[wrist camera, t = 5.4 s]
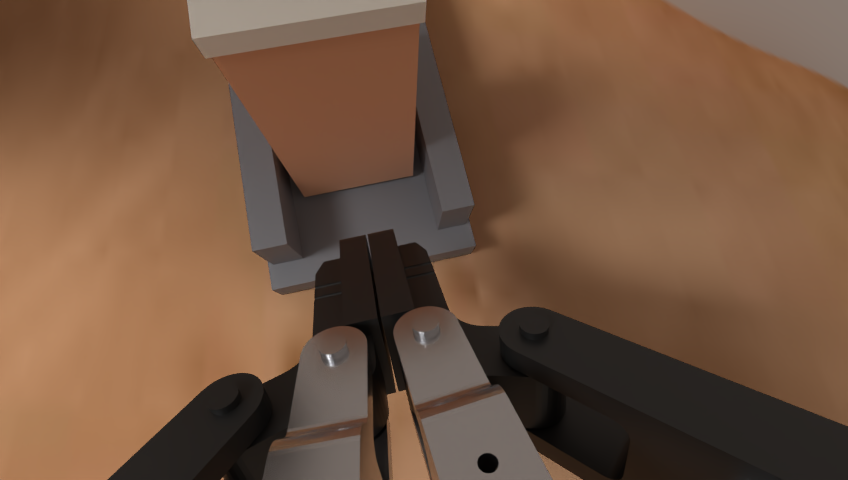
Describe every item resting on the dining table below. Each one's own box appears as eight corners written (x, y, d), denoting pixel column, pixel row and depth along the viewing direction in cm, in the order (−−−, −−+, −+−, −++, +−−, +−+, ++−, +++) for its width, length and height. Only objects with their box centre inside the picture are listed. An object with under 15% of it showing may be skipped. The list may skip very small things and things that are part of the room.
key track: (470, 253, 19) (495, 217, 14) (282, 294, 19) (233, 272, 13) (395, -34, 23) (393, -148, 18) (235, -10, 22) (182, -122, 17)
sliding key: (415, 177, 18) (426, 1, 9) (302, 200, 18) (191, 39, 9) (390, 72, 20) (377, -179, 10) (283, 90, 19) (168, -155, 10)
